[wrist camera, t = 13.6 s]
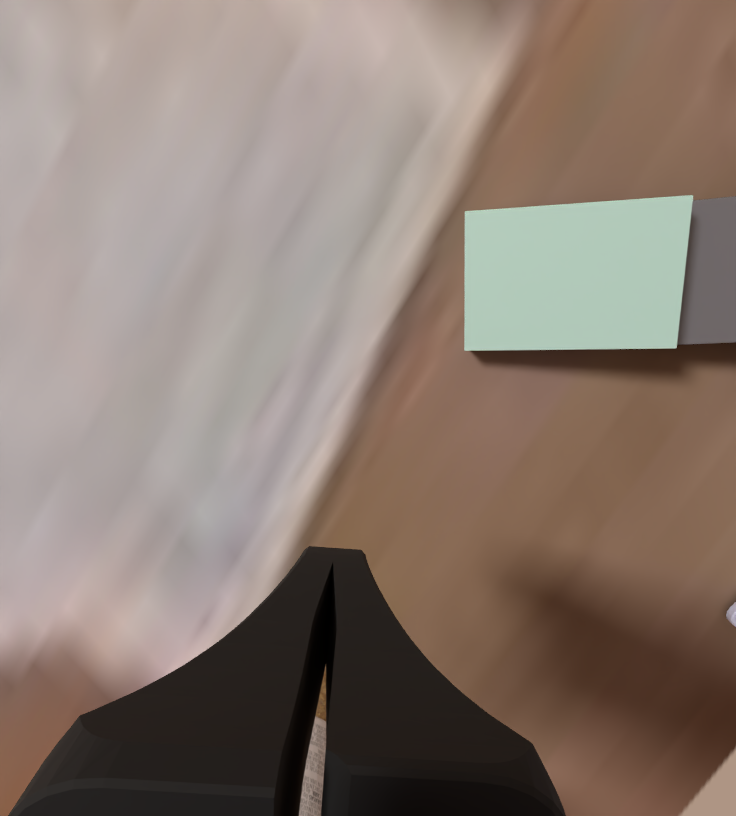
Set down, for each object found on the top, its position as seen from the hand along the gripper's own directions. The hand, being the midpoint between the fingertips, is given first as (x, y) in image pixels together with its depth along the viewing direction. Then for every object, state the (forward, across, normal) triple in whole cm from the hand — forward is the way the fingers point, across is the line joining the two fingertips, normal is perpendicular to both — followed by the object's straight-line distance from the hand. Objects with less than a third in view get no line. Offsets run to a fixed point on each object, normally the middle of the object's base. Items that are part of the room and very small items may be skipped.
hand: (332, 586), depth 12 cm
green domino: (+9, -4, -7) cm, 12 cm away
